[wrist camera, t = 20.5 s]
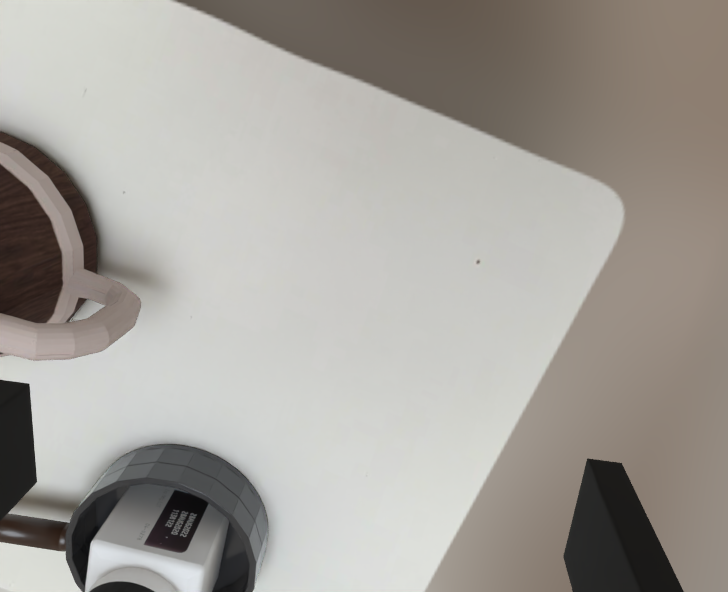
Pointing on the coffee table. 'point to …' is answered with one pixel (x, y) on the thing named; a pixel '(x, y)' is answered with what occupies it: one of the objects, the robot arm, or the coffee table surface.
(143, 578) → the container
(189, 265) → the coffee table surface
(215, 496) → the pan
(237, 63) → the coffee table surface
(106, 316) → the mug
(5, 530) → the pan handle
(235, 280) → the coffee table surface
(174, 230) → the coffee table surface
